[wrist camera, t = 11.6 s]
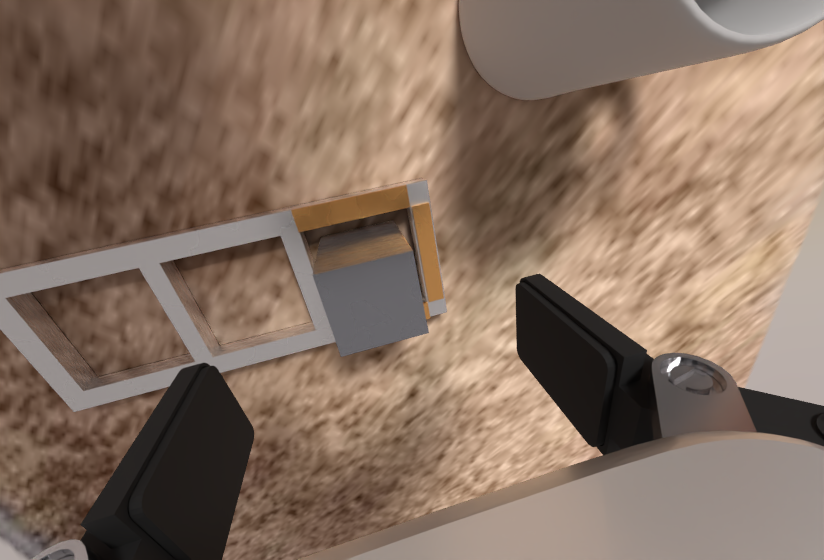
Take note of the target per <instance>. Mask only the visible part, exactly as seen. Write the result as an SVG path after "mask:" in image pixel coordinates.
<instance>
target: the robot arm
mask: <svg viewBox="0 0 824 560" xmlns="http://www.w3.org/2000/svg"><path fill="white" fill-rule="evenodd" d="M516 332H517V352H518V355H519V357H520V359H521V360H522V362H523V363H524V364H525V365H526V367H527V368H528V369H529V370H530V372H531V373H532V374H533V375H534V377H535V378H536V379H537V380H538V382H539V383H540V384H541V385H542V387H543V388H544V389H545V390H546V392H547V393H548V394H549V395H550V397H551V398H552V399H553V400H554V402H555V403H556V404H557V406H558V407H559V408H560V409H561V411H562V412H563V413H564V414H565V416H566V417H567V418H568V419H569V421H570V422H571V423H572V424H573V426H574V427H575V428H576V429H577V431H578V432H579V433H580V434H581V436H582V437H583V438H584V439H585V441H586V442H587V443H588V444H589V445H590V446H592V447H597V448H598V449H599V450H600V452H601V453H602V454H603V456H599V457H596V458H593V459H590V460H587V461H584V462H581V463H577V464H574V465H571V466H568V467H565V468H562V469H559V470H556V471H553V472H550V473H548V474H545V475H542V476H539V477H536V478H533V479H530V480H527V481H524V482H521V483H518V484H515V485H512V486H509V487H506V488H503V489H500V490H497V491H494V492H491V493H488V494H485V495H482V496H479V497H476V498H474V499H471V500H468V501H465V502H462V503H459V504H456V505H453V506H450V507H447V508H444V509H441V510H439V511H436V512H433V513H430V514H427V515H424V516H421V517H418V518H415V519H412V520H409V521H406V522H404V523H401V524H398V525H395V526H392V527H389V528H386V529H383V530H380V531H378V532H375V533H372V534H369V535H366V536H363V537H360V538H357V539H354V540H351V541H349V542H346V543H343V544H340V545H337V546H334V547H331V548H328V549H325V550H323V551H320V552H317V553H314V554H311V555H308V556H305V557H303V558H300V559H297V560H824V406H821V405H817V404H812V403H808V402H803V401H799V400H794V399H789V398H785V397H781V396H776V395H772V394H768V393H763V392H759V391H754V390H750V389H745V388H741V387H738V386H737V384H736V382H735V381H734V379H733V378H732V376H731V375H730V374H729V373H728V372H727V371H725V370H724V369H723V368H722V367H720V366H718V365H716V364H715V363H713V362H711V361H709V360H706V359H703V358H701V357H698V356H694V355H689V354H684V353H668V354H663V355H660V356H658V357H656V358H655V359H653V358H652V357H650V356H649V355H648V354H646V352H647V350H646V349H644V348H643V347H642V346H640V345H639V344H637V343H636V342H635V341H633V340H632V339H630V338H629V337H628V336H626V335H625V334H623V333H622V332H621V331H619V330H618V329H617V328H615V327H614V326H612V325H611V324H610V323H608V322H607V321H605V320H604V319H603V318H601V317H600V316H598V315H597V314H596V313H594V312H593V311H591V310H590V309H589V308H587V307H586V306H584V305H583V304H582V303H580V302H579V301H577V300H576V299H575V298H573V297H572V296H570V295H569V294H568V293H566V292H565V291H563V290H562V289H561V288H559V287H558V286H556V285H555V284H554V283H552V282H551V281H549V280H548V279H547V278H545V277H544V276H542V275H541V274H536V275H532V276H528V277H524V278H522V279H521V280H520V283H519V284H517V285H516ZM253 440H254V430H253V427H252V425H251V423H250V421H249V420H248V418H247V416H246V415H245V413H244V411H243V410H242V408H241V407H240V405H239V403H238V402H237V400H236V398H235V397H234V395H233V393H232V392H231V390H230V388H229V387H228V385H227V384H226V382H225V380H224V379H223V377H222V375H221V374H220V372H219V370H218V369H217V368H216V367H215V366H210V365H209V364H207V363H200V364H197V365H193V366H189V367H185V368H183V369H181V370H180V371H179V372H178V374H177V376H176V377H175V379H174V380H173V382H172V383H171V385H170V386H169V388H168V390H167V391H166V393H165V394H164V396H163V397H162V399H161V400H160V402H159V404H158V405H157V407H156V408H155V410H154V411H153V413H152V414H151V416H150V418H149V419H148V421H147V422H146V424H145V425H144V427H143V428H142V430H141V432H140V433H139V435H138V436H137V438H136V439H135V441H134V442H133V444H132V446H131V447H130V449H129V450H128V452H127V453H126V455H125V456H124V458H123V460H122V461H121V463H120V464H119V466H118V467H117V469H116V470H115V472H114V474H113V475H112V477H111V478H110V480H109V481H108V483H107V484H106V486H105V488H104V489H103V491H102V492H101V494H100V495H99V497H98V498H97V500H96V501H95V503H94V505H93V506H92V508H91V509H90V511H89V512H88V514H87V515H86V517H85V519H84V520H83V522H82V523H81V526H83V527H84V528H85V529H86V530H87V531H86V532H85V534H84V536H83V537H82V539H81V540H80V541H79V540H74V539H71V540H67V541H63V542H60V543H58V544H56V545H54V546H51V547H49V548H47V549H46V550H44V551H43V552H41V553H40V554H38V555H37V556H35V557H34V558H32V559H31V560H222V557H223V553H224V550H225V546H226V542H227V538H228V535H229V531H230V527H231V523H232V519H233V516H234V512H235V508H236V504H237V500H238V497H239V493H240V489H241V485H242V482H243V478H244V474H245V470H246V466H247V463H248V459H249V455H250V451H251V448H252V444H253Z"/></svg>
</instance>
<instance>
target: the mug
mask: <svg viewBox="0 0 824 560" xmlns="http://www.w3.org/2000/svg"><path fill="white" fill-rule="evenodd" d="M823 19H824V0H459V20H460V26H461V33H462V37H463V41H464V44H465V47H466V50H467V53H468V55H469V58H470V59H471V61H472V63H473V65H474V67H475V68H476V70H477V71H478V73H479V74H480V76H481V77H482V78H483V79H484V80H485V81H486V82H487V83H488V84H489V85H490V86H491V87H493V88H494V89H495V90H497V91H498V92H500V93H502V94H504V95H506V96H509V97H512V98H515V99H521V100H538V99H545V98H549V97H553V96H557V95H561V94H564V93H568V92H572V91H577V90H581V89H585V88H590V87H594V86H599V85H603V84H608V83H612V82H617V81H621V80H626V79H631V78H635V77H640V76H644V75H649V74H653V73H658V72H662V71H667V70H671V69H676V68H681V67H685V66H690V65H694V64H699V63H703V62H708V61H712V60H717V59H721V58H726V57H731V56H735V55H739V54H743V53H747V52H751V51H755V50H758V49H762V48H765V47H768V46H772V45H775V44H778V43H780V42H783V41H785V40H787V39H789V38H791V37H794V36H796V35H798V34H800V33H802V32H804V31H806V30H807V29H809V28H811V27H812V26H814V25H815V24H817V23H819V22H820V21H822V20H823Z"/></svg>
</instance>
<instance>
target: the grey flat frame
mask: <svg viewBox="0 0 824 560" xmlns="http://www.w3.org/2000/svg"><path fill="white" fill-rule="evenodd" d="M404 208H407V212H408V217H409V223H410V228H411V233H412V239H413V244H414V249H415V255H416V260H417V266H418V271H419V276H420V282H421V287H422V292H423V293H421V295H422V300H423V305H424V311H425V316H426V319H430V317H431V316H434V315H438V314H442V313H446V312H447V309H446V302H445V296H444V289H443V283H442V276H441V270H440V263H439V256H438V250H437V243H436V237H435V230H434V224H433V217H432V211H431V204H430V198H429V191H428V184H427V180H425V179H423V178H419V179H415V180H410V181H406V182H401V183H396V184H392V185H387V186H383V187H378V188H373V189H369V190H364V191H360V192H355V193H350V194H346V195H341V196H337V197H332V198H327V199H323V200H318V201H313V202H309V203H304V204H300V205H295V206H290V207H286V208H281V209H277V210H272V211H267V212H263V213H258V214H254V215H249V216H244V217H240V218H235V219H231V220H226V221H221V222H217V223H212V224H208V225H203V226H198V227H194V228H189V229H185V230H180V231H175V232H171V233H166V234H162V235H157V236H152V237H148V238H143V239H139V240H134V241H129V242H125V243H120V244H116V245H111V246H106V247H102V248H97V249H93V250H88V251H83V252H79V253H74V254H70V255H65V256H60V257H56V258H51V259H47V260H42V261H37V262H33V263H28V264H23V265H19V266H14V267H10V268H5V269H0V330H1V331H2V332H3V333H4V334H5V335H6V336H7V337H8V338H9V340H10V341H11V342H12V343H13V344H14V345H15V346H16V347H17V349H18V350H19V351H20V352H21V353H22V354H23V355H24V356H25V358H26V359H27V360H28V361H29V362H30V363H31V364H32V365H33V367H34V368H35V369H36V370H37V371H38V372H39V373H40V374H41V376H42V377H43V378H44V379H45V380H46V381H47V382H48V383H49V385H50V386H51V387H52V388H53V389H54V390H55V391H56V392H57V393H58V395H59V396H60V397H61V398H62V399H63V400H64V401H65V402H66V404H67V405H68V406H69V407H70V408H71V409H72V410H73V411H74V412H76V411H80V410H83V409H87V408H91V407H95V406H98V405H102V404H106V403H110V402H113V401H117V400H121V399H124V398H128V397H132V396H136V395H139V394H143V393H147V392H151V391H154V390H158V389H162V388H166V387H169V386H170V385H171V383H172V382H173V380H174V379H175V377H176V376H177V374H178V372H179V371H180V370H181V369H183V368H185V367H189V366H193V365H197V364H200V363H207V364H209V365H210V366H215V367H216V368H217V369H218V370H219V372H220V373H222V372H225V371H229V370H233V369H236V368H240V367H244V366H248V365H251V364H255V363H259V362H263V361H266V360H270V359H274V358H278V357H281V356H285V355H289V354H292V353H296V352H300V351H304V350H307V349H311V348H315V347H319V346H322V345H326V344H330V343H334V342H336V341H335V338H334V335H333V332H332V330H331V327H330V324H329V321H328V318H327V315H326V312H325V310H324V307H323V304H322V301H321V298H320V295H319V293H318V290H317V287H316V284H315V281H314V278H313V270H314V266H315V264H314V261H313V258H312V255H311V252H310V249H309V246H308V243H307V241H306V238H305V235H304V232H303V231H307V230H312V229H316V228H320V227H325V226H329V225H334V224H338V223H343V222H347V221H351V220H356V219H360V218H365V217H369V216H373V215H378V214H382V213H387V212H391V211H395V210H400V209H404ZM277 236H281V238H282V241H283V244H284V246H285V249H286V252H287V254H288V257H289V260H290V263H291V265H292V268H293V271H294V273H295V276H296V279H297V281H298V284H299V287H300V289H301V292H302V295H303V297H304V300H305V303H306V305H307V308H308V311H309V313H310V316H311V319H312V321H313V322H309V323H305V324H302V325H298V326H294V327H290V328H286V329H282V330H278V331H275V332H271V333H267V334H263V335H259V336H255V337H251V338H248V339H244V340H240V341H236V342H232V343H228V344H224V345H219V344H218V342H217V340H216V338H215V336H214V334H213V333H212V331H211V329H210V327H209V325H208V323H207V322H206V320H205V318H204V316H203V314H202V312H201V311H200V309H199V307H198V305H197V303H196V301H195V300H194V298H193V296H192V294H191V292H190V290H189V289H188V287H187V285H186V283H185V281H184V279H183V278H182V276H181V274H180V272H179V270H178V268H177V267H176V265H175V263H174V261H173V260H176V259H180V258H184V257H189V256H193V255H198V254H202V253H206V252H211V251H215V250H220V249H224V248H228V247H233V246H237V245H242V244H246V243H251V242H255V241H259V240H264V239H268V238H273V237H277ZM136 268H139V269H140V271H141V272H142V274H143V276H144V277H145V279H146V281H147V282H148V284H149V286H150V287H151V289H152V291H153V292H154V294H155V296H156V297H157V299H158V301H159V302H160V304H161V306H162V307H163V309H164V311H165V312H166V314H167V316H168V317H169V319H170V321H171V322H172V324H173V326H174V327H175V329H176V330H177V332H178V334H179V335H180V337H181V339H182V340H183V342H184V344H185V345H186V347H187V349H188V350H189V352H190V354H186V355H182V356H178V357H174V358H170V359H166V360H162V361H159V362H155V363H151V364H147V365H143V366H139V367H135V368H132V369H128V370H124V371H120V372H116V373H112V374H108V375H105V376H101V377H97V376H96V374H95V373H94V372H93V371H92V369H91V368H90V367H89V365H88V364H87V363H86V362H85V360H84V359H83V358H82V357H81V355H80V354H79V353H78V352H77V350H76V349H75V348H74V347H73V345H72V344H71V343H70V342H69V340H68V339H67V338H66V336H65V335H64V334H63V333H62V331H61V330H60V329H59V328H58V326H57V325H56V324H55V323H54V321H53V320H52V319H51V318H50V316H49V315H48V314H47V313H46V311H45V310H44V309H43V307H42V306H41V305H40V304H39V302H38V301H37V300H36V299H35V297H34V296H33V295H32V294H31V292H34V291H39V290H43V289H47V288H52V287H56V286H61V285H65V284H70V283H74V282H78V281H83V280H87V279H92V278H96V277H100V276H105V275H109V274H114V273H118V272H123V271H127V270H131V269H136Z"/></svg>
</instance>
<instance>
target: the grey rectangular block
mask: <svg viewBox="0 0 824 560" xmlns="http://www.w3.org/2000/svg"><path fill="white" fill-rule="evenodd" d="M313 278H314V281H315V284H316V287H317V290H318V293H319V295H320V298H321V301H322V304H323V307H324V310H325V312H326V315H327V318H328V321H329V324H330V327H331V330H332V332H333V335H334V338H335V341H336V344H337V347H338V350H339V352H340V355H341V357H342V356H346V355H350V354H353V353H357V352H361V351H364V350H368V349H372V348H375V347H379V346H382V345H386V344H390V343H393V342H397V341H401V340H404V339H408V338H412V337H415V336H419V335H423V334H426V333H429V332H428V326H427V321H426V316H425V311H424V305H423V300H422V295H421V290H420V285H419V279H418V274H417V269H416V264H415V258H414V253H413V250H412V248H411V247H410V245H409V244H408V242H407V241H406V239H405V238H404V236H403V235H402V233H401V231H400V230H399V228H398V227H397V225H396V224H395V222H394V221H393V220H391V221H387V222H383V223H378V224H374V225H370V226H365V227H361V228H357V229H353V230H348V231H344V232H340V233H335V234H331V235H327V236H322V237H321V238H320V243H319V248H318V252H317V257H316V261H315V266H314V270H313Z"/></svg>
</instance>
